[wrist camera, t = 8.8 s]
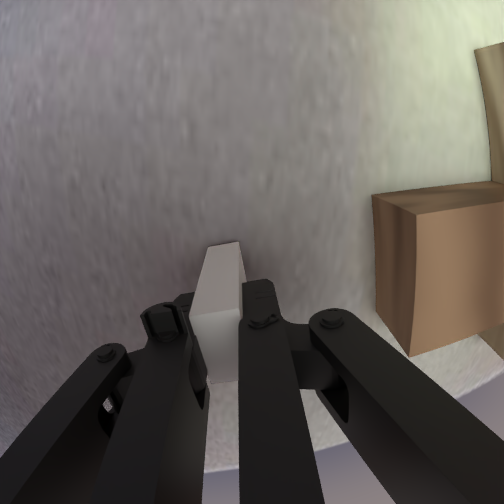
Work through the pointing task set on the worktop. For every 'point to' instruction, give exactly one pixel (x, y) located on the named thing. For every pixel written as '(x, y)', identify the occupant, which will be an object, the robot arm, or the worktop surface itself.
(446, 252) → the walnut block
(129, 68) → the worktop surface
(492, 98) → the birch board
